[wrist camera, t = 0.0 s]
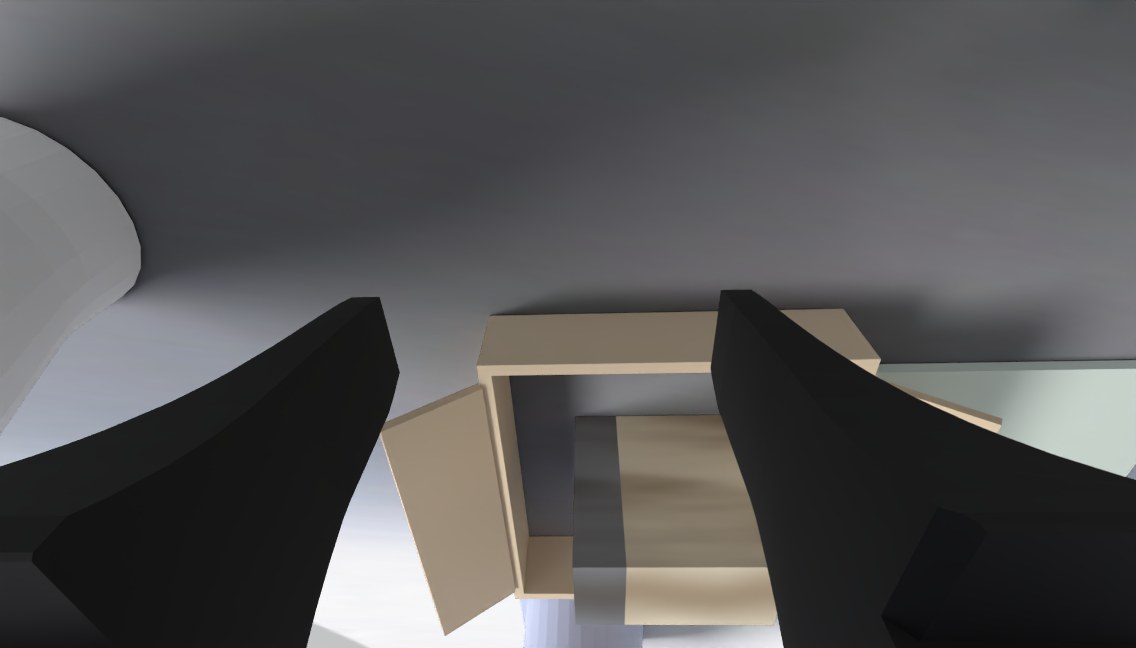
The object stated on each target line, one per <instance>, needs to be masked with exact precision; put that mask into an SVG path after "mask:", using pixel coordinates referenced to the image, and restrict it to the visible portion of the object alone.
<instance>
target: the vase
mask: <svg viewBox="0 0 1136 648" xmlns="http://www.w3.org/2000/svg"><path fill="white" fill-rule="evenodd" d="M140 269H141V246H140V243H139V240H138V237H137V233H136V230H135V227H134V224H133V222H132V220H131V218H130V217H129V215H128V213H127V211H126V210H125V208H124V206H123V205H122V203H121V201H120V200H119V198H118V197H117V195H116V194H115V193H114V192H113V191H112V190H111V189H110V187H109V186H108V185H107V184H106V183H105V182H104V180H103V179H102V178H101V177H100V176H99V175H98V174H97V172H96V171H94V170H93V169H92V168H91V167H89V166H88V165H87V164H86V163H85V162H83V161H82V160H81V159H80V158H79V157H77V156H76V155H75V154H74V153H73V152H71V151H70V150H69V149H68V148H66V147H64V146H62V145H61V144H59V143H57V142H56V141H54V140H52V139H50V138H49V137H47V136H45V135H44V134H42V133H40V132H39V131H37V130H35V129H32V128H29V127H27V126H24V125H21V124H19V123H16V122H13V121H11V120H8V119H5V118H3V117H0V435H1V434H2V432H3V431H4V429H5V428H6V426H7V425H8V423H9V422H10V420H11V419H12V417H13V416H14V414H15V413H16V412H17V410H18V409H19V407H20V406H21V404H22V403H23V401H24V400H25V398H26V397H27V395H28V394H29V392H30V391H31V389H32V388H33V386H34V385H35V384H36V382H37V381H38V379H39V378H40V376H41V375H42V373H43V372H44V370H45V369H46V367H47V366H48V364H49V363H50V361H51V360H52V358H53V357H54V355H55V354H56V353H57V351H58V350H59V348H60V347H61V345H62V344H63V343H64V342H65V340H66V339H67V338H68V337H69V336H70V335H71V334H72V333H73V332H74V331H76V330H77V329H78V328H80V327H81V326H83V325H84V324H85V323H87V322H88V321H89V320H91V319H92V318H94V317H95V316H96V315H98V314H99V313H100V312H102V311H103V310H105V309H106V308H107V307H109V306H110V305H111V304H113V303H114V302H116V301H117V300H118V299H120V298H121V297H122V296H123V295H124V294H125V293H126V292H127V291H128V290H129V289H131V288H132V287H133V286H134V284H135V281H136V279H137V276H138V274H139V271H140Z"/></svg>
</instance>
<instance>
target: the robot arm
mask: <svg viewBox="0 0 1136 648" xmlns="http://www.w3.org/2000/svg"><path fill="white" fill-rule="evenodd" d="M710 369H711V374H712V379H713V385H714V390H715V395H716V400H717V404H718V409H719V412H720V415H721V418H722V421H723V423H724V426H725V429H726V432H727V435H728V438H729V441H730V444H731V446H732V449H733V452H734V455H735V458H736V461H737V463H738V466H739V469H740V472H741V475H742V478H743V480H744V483H745V486H746V489H747V492H748V494H749V497H750V501H751V504H752V507H753V511H754V514H755V517H756V521H757V525H758V530H759V534H760V538H761V543H762V547H763V551H764V555H765V560H766V564H767V569H768V573H769V578H770V583H771V587H772V592H773V596H774V601H775V606H776V610H777V615H778V620H779V626H780V631H781V636H782V641H783V646H784V648H1136V480H1134V479H1131V478H1127V477H1124V476H1121V475H1118V474H1115V473H1111V472H1108V471H1105V470H1102V469H1098V468H1095V467H1092V466H1089V465H1086V464H1082V463H1079V462H1076V461H1073V460H1070V459H1066V458H1063V457H1060V456H1057V455H1054V454H1051V453H1048V452H1046V451H1043V450H1040V449H1037V448H1035V447H1032V446H1029V445H1027V444H1024V443H1021V442H1018V441H1016V440H1013V439H1010V438H1008V437H1005V436H1002V435H1000V434H997V433H995V432H992V431H990V430H987V429H985V428H982V427H980V426H977V425H975V424H973V423H970V422H968V421H966V420H963V419H961V418H959V417H957V416H955V415H952V414H950V413H948V412H946V411H943V410H941V409H939V408H937V407H935V406H932V405H930V404H928V403H926V402H924V401H922V400H920V399H918V398H916V397H914V396H912V395H910V394H908V393H906V392H904V391H902V390H901V389H899V388H897V387H895V386H893V385H891V384H889V383H888V382H886V381H884V380H882V379H880V378H878V377H877V376H875V375H873V374H871V373H870V372H868V371H866V370H865V369H863V368H861V367H860V366H858V365H857V364H855V363H853V362H852V361H850V360H849V359H847V358H846V357H844V356H843V355H841V354H839V353H838V352H836V351H835V350H833V349H832V348H830V347H829V346H827V345H826V344H825V343H823V342H822V341H820V340H819V339H817V338H816V337H815V336H813V335H812V334H810V333H809V332H808V331H806V330H805V329H804V328H802V327H801V326H799V325H798V324H797V323H795V322H794V321H793V320H791V319H790V318H789V317H788V316H786V315H785V314H784V313H782V312H781V311H780V310H778V309H777V308H776V307H774V306H773V305H772V304H771V303H769V302H768V301H767V300H765V299H764V298H763V297H761V296H760V295H758V294H757V293H755V292H754V291H752V290H721V295H720V302H719V309H718V317H717V324H716V331H715V338H714V346H713V353H712V360H711V368H710ZM399 373H400V372H399V368H398V364H397V361H396V357H395V353H394V349H393V346H392V342H391V338H390V334H389V331H388V327H387V323H386V319H385V316H384V312H383V308H382V304H381V301H380V297H355V298H350V299H348V300H346V301H344V302H342V303H340V304H338V305H337V306H335V307H333V308H332V309H330V310H328V311H327V312H325V313H324V314H322V315H321V316H319V317H317V318H316V319H314V320H313V321H311V322H310V323H308V324H307V325H305V326H304V327H302V328H300V329H299V330H297V331H296V332H294V333H293V334H291V335H290V336H288V337H286V338H285V339H283V340H282V341H280V342H279V343H277V344H276V345H274V346H272V347H271V348H269V349H267V350H266V351H264V352H262V353H261V354H259V355H257V356H255V357H254V358H252V359H250V360H249V361H247V362H245V363H244V364H242V365H240V366H239V367H237V368H235V369H234V370H232V371H230V372H228V373H227V374H225V375H223V376H221V377H219V378H218V379H216V380H214V381H212V382H210V383H208V384H206V385H204V386H202V387H200V388H198V389H196V390H194V391H192V392H190V393H188V394H186V395H184V396H182V397H180V398H178V399H176V400H174V401H172V402H170V403H167V404H165V405H163V406H161V407H158V408H156V409H154V410H151V411H149V412H147V413H144V414H142V415H139V416H137V417H135V418H132V419H130V420H128V421H125V422H123V423H121V424H118V425H116V426H114V427H111V428H109V429H106V430H104V431H101V432H99V433H96V434H93V435H91V436H88V437H85V438H83V439H80V440H77V441H74V442H72V443H69V444H66V445H63V446H60V447H58V448H55V449H52V450H49V451H46V452H43V453H40V454H37V455H34V456H31V457H28V458H25V459H22V460H19V461H16V462H13V463H10V464H7V465H3V466H0V648H306V647H307V643H308V639H309V635H310V631H311V627H312V623H313V619H314V615H315V611H316V608H317V604H318V601H319V597H320V594H321V590H322V587H323V583H324V580H325V576H326V573H327V569H328V566H329V562H330V559H331V556H332V553H333V550H334V547H335V543H336V540H337V537H338V534H339V531H340V528H341V524H342V521H343V518H344V516H345V513H346V511H347V508H348V506H349V503H350V500H351V498H352V496H353V493H354V491H355V489H356V487H357V484H358V482H359V480H360V478H361V475H362V473H363V471H364V469H365V466H366V464H367V462H368V460H369V457H370V455H371V453H372V451H373V448H374V446H375V444H376V442H377V439H378V437H379V435H380V432H381V430H382V428H383V425H384V423H385V421H386V418H387V416H388V413H389V411H390V407H391V404H392V400H393V397H394V393H395V389H396V385H397V381H398V377H399ZM520 602H521V608H522V615H523V621H524V627H525V634H524V646H523V648H642V641H643V627H644V625H576V622H575V605H574V599H520Z"/></svg>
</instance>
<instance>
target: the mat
mask: <svg viewBox="0 0 1136 648" xmlns="http://www.w3.org/2000/svg"><path fill="white" fill-rule="evenodd" d="M875 376H877V377H878V378H880V379H882V380H884V381H887V382H890V383H894V384H897V385H900V386H903V387H906V388H909V389H912V390H915V391H918V392H921V393H925V394H928V395H931V396H934V397H937V398H940V399H943V400H946V401H949V402H952V403H956V404H959V405H962V406H965V407H968V408H971V409H974V410H977V411H980V412H983V413H987V414H990V415H993V416H996V417H999V418H1002V426H1001V428H1000V429H999V431H998V433H997V434H1000V435H1002V436H1005V437H1008V438H1010V439H1013V440H1016V441H1018V442H1021V443H1024V444H1027V445H1029V446H1032V447H1035V448H1037V449H1040V450H1043V451H1046V452H1048V453H1051V454H1054V455H1057V456H1060V457H1063V458H1066V459H1070V460H1073V461H1076V462H1079V463H1082V464H1086V465H1089V466H1092V467H1095V468H1098V469H1102V470H1105V471H1108V472H1111V473H1115V474H1118V475H1121V476H1124V477H1126V476H1127V474H1128V473H1129V472H1130V471H1131V469H1132V468H1133V467H1134V465H1135V464H1136V360H1111V361H1048V362H985V363H921V364H879V367H878V369H877V372H876V375H875Z"/></svg>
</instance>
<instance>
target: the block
mask: <svg viewBox="0 0 1136 648" xmlns="http://www.w3.org/2000/svg"><path fill="white" fill-rule="evenodd" d="M572 571H573V588H574V605H575V622H576V625H774V623H775V620H776V616H777V610H776V606H775V601H774V596H773V592H772V587H771V583H770V578H769V573H768V569H767V564H766V560H765V555H764V551H763V547H762V543H761V538H760V534H759V530H758V525H757V521H756V517H755V514H754V511H753V507H752V504H751V501H750V497H749V494H748V492H747V489H746V486H745V483H744V480H743V478H742V475H741V472H740V469H739V466H738V463H737V461H736V458H735V455H734V452H733V449H732V446H731V444H730V441H729V438H728V435H727V432H726V429H725V426H724V423H723V421H722V418H721V415H673V416H592V417H575V448H574V503H573V558H572Z"/></svg>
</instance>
